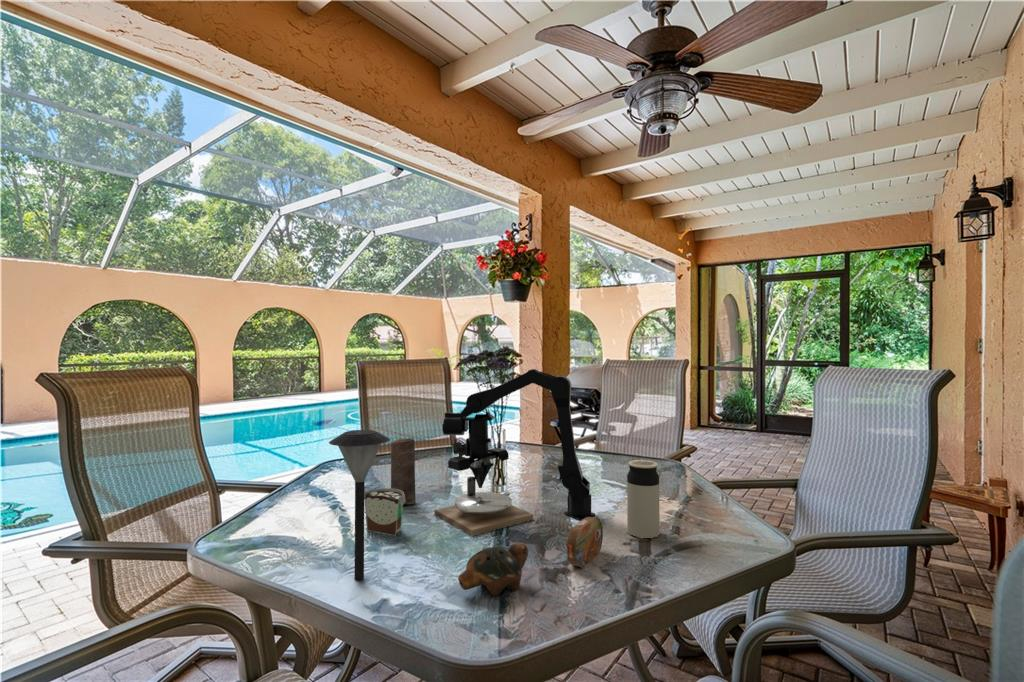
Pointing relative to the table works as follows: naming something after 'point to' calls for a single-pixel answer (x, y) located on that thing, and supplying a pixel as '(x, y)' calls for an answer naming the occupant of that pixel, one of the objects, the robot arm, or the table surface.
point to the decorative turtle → (495, 568)
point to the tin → (584, 541)
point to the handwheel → (481, 500)
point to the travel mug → (643, 499)
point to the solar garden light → (359, 478)
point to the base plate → (482, 519)
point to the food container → (384, 510)
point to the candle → (403, 467)
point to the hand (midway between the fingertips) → (480, 487)
